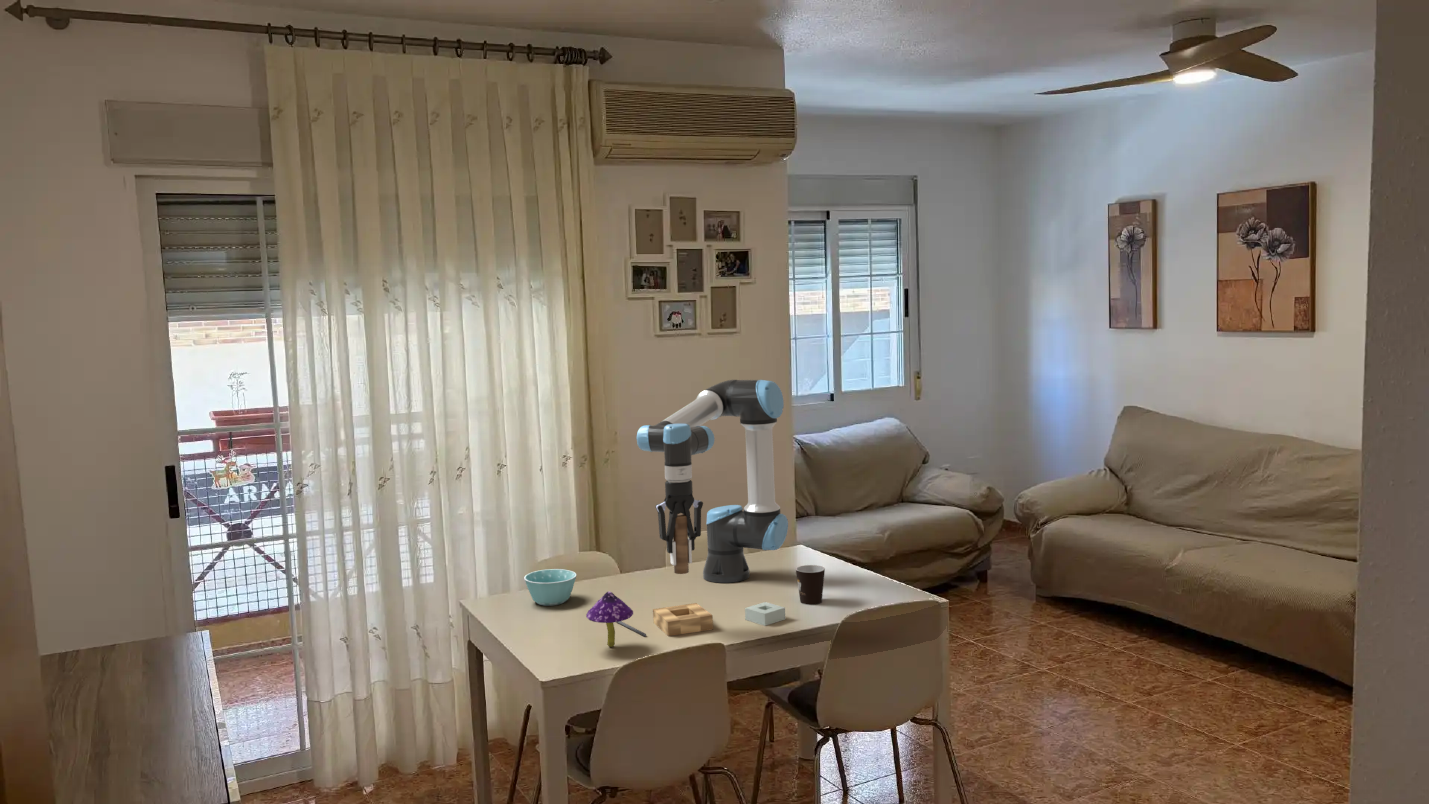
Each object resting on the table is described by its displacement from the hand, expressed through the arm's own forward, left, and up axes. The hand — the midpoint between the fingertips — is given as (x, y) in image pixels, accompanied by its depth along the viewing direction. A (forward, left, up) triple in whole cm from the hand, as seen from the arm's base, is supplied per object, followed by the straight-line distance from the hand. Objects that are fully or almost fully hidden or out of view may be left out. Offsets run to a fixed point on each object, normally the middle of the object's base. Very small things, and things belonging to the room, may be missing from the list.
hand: (681, 563), depth 297 cm
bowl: (-41, -28, -18) cm, 53 cm away
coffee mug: (-6, +43, -18) cm, 47 cm away
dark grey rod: (-4, -14, -18) cm, 23 cm away
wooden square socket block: (0, 0, -18) cm, 18 cm away
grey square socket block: (+5, +23, -18) cm, 29 cm away
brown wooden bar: (0, 0, -3) cm, 3 cm away
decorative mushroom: (+8, -23, -18) cm, 31 cm away
